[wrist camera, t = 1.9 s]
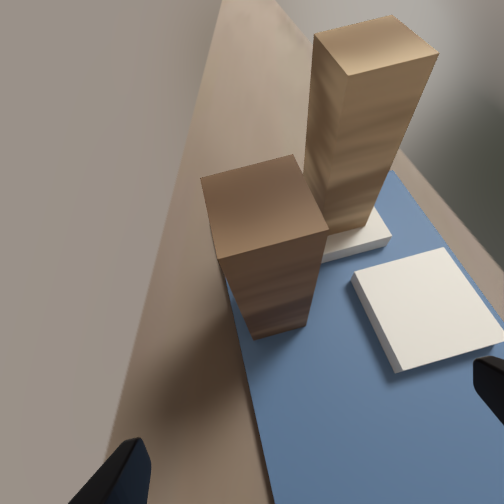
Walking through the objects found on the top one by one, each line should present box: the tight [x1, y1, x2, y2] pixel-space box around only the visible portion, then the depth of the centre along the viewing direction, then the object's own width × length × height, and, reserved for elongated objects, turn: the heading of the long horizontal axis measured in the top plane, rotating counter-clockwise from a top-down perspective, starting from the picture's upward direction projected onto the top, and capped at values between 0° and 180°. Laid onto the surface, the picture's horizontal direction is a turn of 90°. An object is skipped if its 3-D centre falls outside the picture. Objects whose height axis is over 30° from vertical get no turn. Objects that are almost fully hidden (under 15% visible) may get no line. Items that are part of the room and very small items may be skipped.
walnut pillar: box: [200, 154, 329, 341], centre depth 16 cm, size 4×4×12 cm
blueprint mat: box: [225, 170, 504, 504], centre depth 20 cm, size 24×18×2 cm
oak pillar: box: [303, 15, 439, 236], centre depth 18 cm, size 4×4×12 cm
